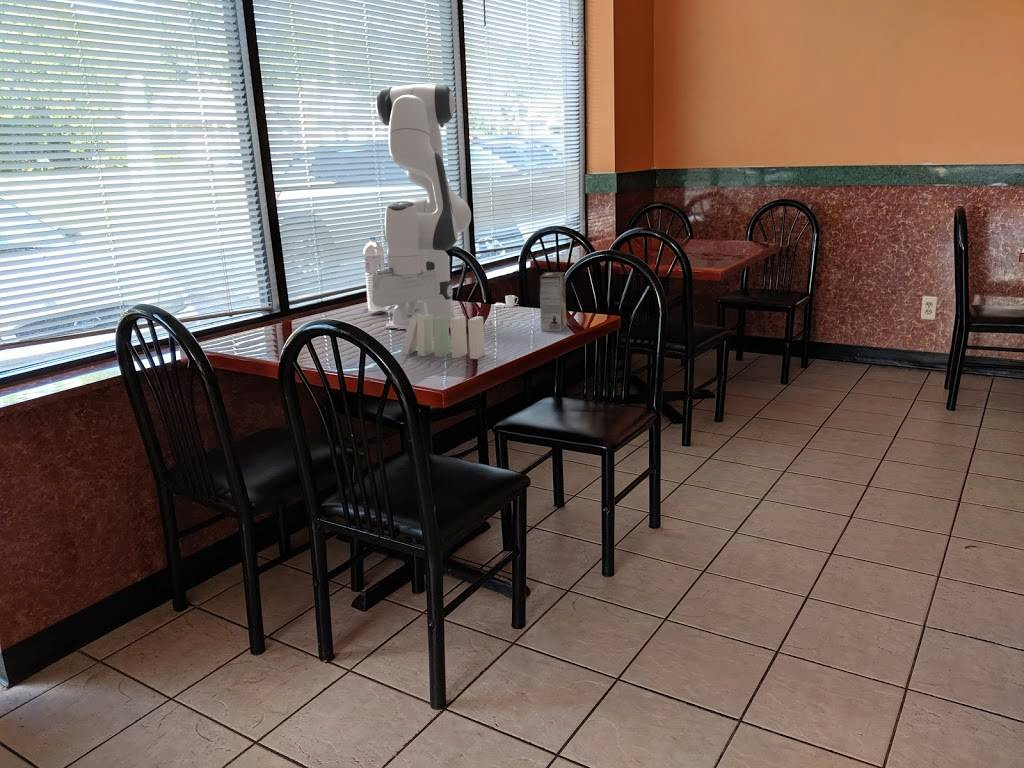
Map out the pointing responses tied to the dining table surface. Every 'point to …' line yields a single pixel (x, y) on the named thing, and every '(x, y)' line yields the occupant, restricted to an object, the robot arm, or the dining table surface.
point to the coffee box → (552, 301)
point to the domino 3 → (441, 335)
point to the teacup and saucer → (507, 302)
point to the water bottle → (373, 269)
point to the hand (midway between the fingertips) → (408, 318)
